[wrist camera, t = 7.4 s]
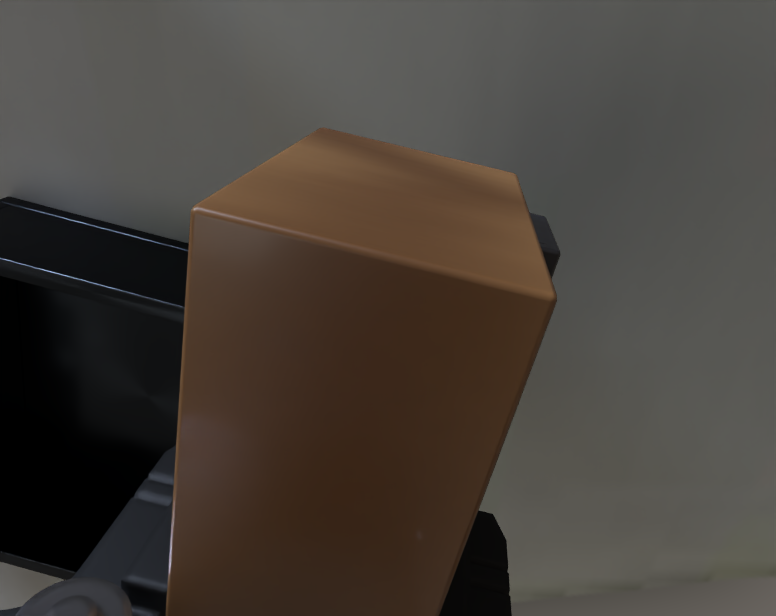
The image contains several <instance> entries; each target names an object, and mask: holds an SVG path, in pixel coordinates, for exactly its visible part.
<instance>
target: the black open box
mask: <svg viewBox="0 0 776 616" xmlns="http://www.w3.org/2000/svg"><path fill="white" fill-rule="evenodd" d="M188 249H189V244H188V243H184V242H180V241H176V240H172V239H168V238H165V237H161V236H157V235H153V234H149V233H146V232H142V231H138V230H134V229H130V228H126V227H123V226H119V225H115V224H111V223H107V222H104V221H100V220H96V219H92V218H88V217H85V216H81V215H77V214H73V213H69V212H65V211H62V210H58V209H54V208H50V207H46V206H43V205H39V204H35V203H31V202H27V201H24V200H20V199H16V198H12V197H5V198H2V199H0V562H4V563H7V564H11V565H15V566H18V567H22V568H25V569H29V570H33V571H36V572H40V573H43V574H47V575H50V576H54V577H58V578H61V579H65V580H68V579H71V578H72V577H73V576H74V575H75V574H76V572H77V571H78V570H79V569H80V568H81V566H82V565H83V563H84V562H85V561H86V559H87V558H88V557H89V555H90V554H91V553H92V551H93V550H94V548H95V547H96V546H97V544H98V543H99V542H100V540H101V539H102V537H103V536H104V535H105V533H106V532H107V531H108V529H109V528H110V527H111V525H112V524H113V522H114V521H115V520H116V518H117V517H118V516H119V514H120V513H121V512H122V510H123V509H124V507H125V506H126V505H127V503H128V502H129V501H130V499H131V498H134V496H135V492H136V491H137V490H138V488H139V487H140V486H141V484H142V483H143V482H144V480H145V479H147V478H148V476H149V473H150V472H151V471H152V469H153V468H154V467H155V465H156V464H157V462H158V461H159V460H160V458H161V457H162V456H163V454H164V453H165V452H166V451H168V450H169V449H171V448H172V447H174V446H175V445H176V441H177V425H178V409H179V393H180V377H181V361H182V345H183V329H184V313H185V297H186V281H187V265H188Z"/></svg>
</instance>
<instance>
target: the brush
mask: <svg viewBox="0 0 776 616" xmlns="http://www.w3.org/2000/svg"><path fill="white" fill-rule="evenodd" d="M559 257H560V250H559V248H558V246H557V243H556V241H555V238H554V236H553V234H552V231H551V229H550V226H549V224H548V222H547V219H546V218H545V217H544V216H540V215H536V214H532V213H529V210H528V207H527V204H526V201H525V198H524V195H523V192H522V189H521V186H520V183H519V180H518V177H517V175H516V174H514V173H511V172H506V171H502V170H498V169H494V168H490V167H486V166H481V165H477V164H473V163H469V162H465V161H461V160H456V159H452V158H448V157H444V156H440V155H435V154H431V153H427V152H423V151H419V150H415V149H410V148H406V147H402V146H398V145H394V144H390V143H385V142H381V141H377V140H373V139H369V138H365V137H360V136H356V135H352V134H348V133H344V132H340V131H335V130H331V129H327V128H319V129H318V130H316V131H314V132H313V133H311V134H310V135H308V136H306V137H305V138H303V139H302V140H300V141H298V142H297V143H295V144H293V145H292V146H290V147H289V148H287V149H285V150H284V151H282V152H280V153H279V154H277V155H276V156H274V157H272V158H271V159H269V160H267V161H266V162H264V163H263V164H261V165H259V166H258V167H256V168H254V169H253V170H251V171H250V172H248V173H246V174H245V175H243V176H241V177H240V178H238V179H237V180H235V181H233V182H232V183H230V184H228V185H227V186H225V187H224V188H222V189H220V190H219V191H217V192H215V193H214V194H212V195H211V196H209V197H207V198H206V199H204V200H202V201H201V202H199V203H198V204H196V205H194V206H193V208H192V210H191V217H190V233H189V249H188V265H187V281H186V297H185V313H184V329H183V345H182V361H181V377H180V393H179V409H178V425H177V441H176V457H175V473H174V489H173V505H172V521H171V537H170V553H169V569H168V586H167V602H166V616H439V614H440V612H441V609H442V606H443V604H444V601H445V598H446V596H447V593H448V590H449V588H450V585H451V582H452V580H453V577H454V574H455V572H456V569H457V566H458V564H459V561H460V558H461V556H462V553H463V550H464V548H465V545H466V542H467V540H468V537H469V534H470V532H471V529H472V526H473V524H474V521H475V518H476V516H477V513H478V510H479V508H480V505H481V502H482V500H483V497H484V494H485V492H486V489H487V486H488V484H489V481H490V478H491V476H492V473H493V470H494V468H495V465H496V462H497V460H498V457H499V454H500V452H501V449H502V446H503V444H504V441H505V438H506V436H507V433H508V430H509V428H510V425H511V422H512V419H513V417H514V414H515V411H516V409H517V406H518V403H519V401H520V398H521V395H522V393H523V390H524V387H525V385H526V382H527V379H528V377H529V374H530V371H531V369H532V366H533V363H534V361H535V358H536V355H537V353H538V350H539V347H540V345H541V342H542V339H543V337H544V334H545V331H546V329H547V326H548V323H549V321H550V318H551V315H552V313H553V310H554V307H555V305H556V302H557V294H556V291H555V288H554V285H553V282H552V276H553V274H554V271H555V268H556V265H557V263H558V260H559Z"/></svg>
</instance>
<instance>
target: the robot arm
mask: <svg viewBox="0 0 776 616" xmlns="http://www.w3.org/2000/svg"><path fill="white" fill-rule="evenodd" d="M175 457H176V445H175V446H174V447H172V448H171V449H169V450H168V451H166V452H165V453H164V454H163V456H162V457H161V458H160V460H159V461H158V462H157V464H156V465H155V467H154V468H153V469H152V471H151V472H150V473H149V476H148V478H147V479H145V480H144V482H143V483H142V484H141V486H140V487H139V488H138V490H137V491H136V492H135V496H134V498H131V499H130V501H129V502H128V503H127V505H126V506H125V507H124V509H123V510H122V512H121V513H120V514H119V516H118V517H117V518H116V520H115V521H114V522H113V524H112V525H111V527H110V528H109V529H108V531H107V532H106V533H105V535H104V536H103V537H102V539H101V540H100V542H99V543H98V544H97V546H96V547H95V548H94V550H93V551H92V553H91V554H90V555H89V557H88V558H87V559H86V561H85V562H84V563H83V565H82V566H81V568H80V569H79V570H78V571H77V572H76V574H75V575H74V576H73V577H72V578H71V579H68V580H64V581H61V582H58V583H55V584H53V585H51V586H49V587H47V588H45V589H43V590H42V591H40V592H39V593H37V594H36V595H34V596H33V597H32V598H31V599H29V600H28V601H27V602H26V603H25V604H24V605H23V606H22V607H17V608H13V609H8V610H0V616H166V602H167V586H168V569H169V553H170V537H171V521H172V505H173V489H174V473H175ZM507 570H508V558H507V544H506V539H505V537H504V535H503V533H502V531H501V529H500V527H499V525H498V523H497V521H496V519H495V517H494V515H493V514H490V513H486V512H483V511H479V510H478V513H477V516H476V518H475V521H474V524H473V526H472V529H471V532H470V534H469V537H468V540H467V542H466V545H465V548H464V550H463V553H462V556H461V558H460V561H459V564H458V566H457V569H456V572H455V574H454V577H453V580H452V582H451V585H450V588H449V590H448V593H447V596H446V598H445V601H444V604H443V606H442V609H441V612H440V614H439V616H512V615H511V601H510V596H509V591H510V587H509V573H507Z"/></svg>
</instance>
